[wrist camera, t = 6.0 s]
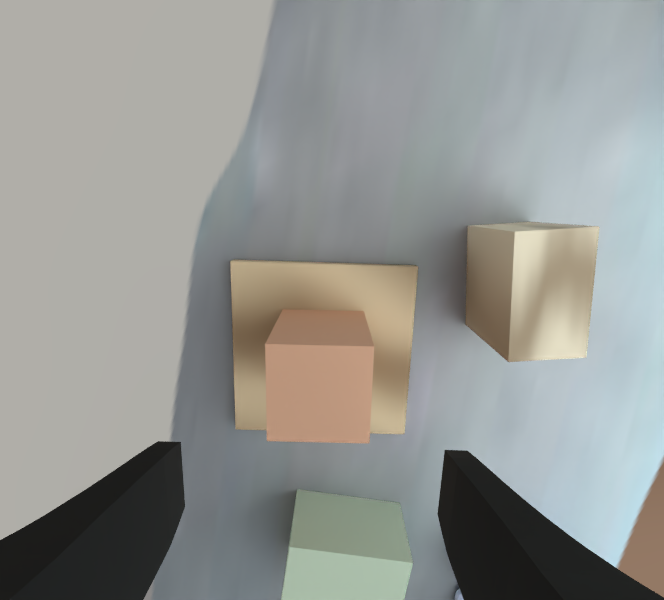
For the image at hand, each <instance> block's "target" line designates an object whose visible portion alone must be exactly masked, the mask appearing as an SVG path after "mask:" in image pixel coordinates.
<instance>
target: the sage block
mask: <svg viewBox="0 0 664 600" xmlns="http://www.w3.org/2000/svg"><path fill="white" fill-rule="evenodd" d="M412 566H413V560H412V556H411V551H410V547H409V542H408V538H407V533H406V529H405V524H404V520H403V515H402V511H401V506H400V503H396V502H389V501H381V500H374V499H366V498H359V497H351V496H344V495H336V494H329V493H322V492H314V491H307V490H299V489H297V494H296V500H295V507H294V513H293V520H292V526H291V533H290V539H289V546H288V553H287V560H286V568H285V575H284V582H283V590H282V597H281V600H404V598H405V594H406V590H407V586H408V582H409V578H410V574H411V570H412Z"/></svg>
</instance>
